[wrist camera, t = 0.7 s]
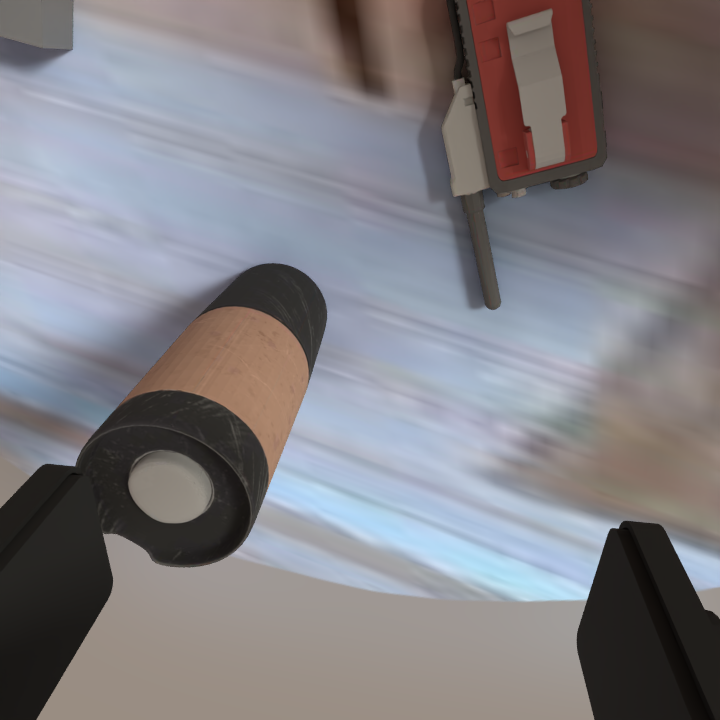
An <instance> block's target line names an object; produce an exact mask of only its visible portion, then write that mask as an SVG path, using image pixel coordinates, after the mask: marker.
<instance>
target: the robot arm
mask: <svg viewBox="0 0 720 720" xmlns="http://www.w3.org/2000/svg"><path fill="white" fill-rule="evenodd" d="M112 586H113V576H112V572H111V568H110V563H109V559H108V555H107V550H106V546H105V542H104V537H103V533H102V529H101V524H100V520H99V516H98V511H97V507H96V503H95V498H94V494H93V490H92V486H91V482H90V479H89V478H88V477H87V476H84V475H83V473H82V471H81V469H80V468H79V467H74V466H64V465H54V464H45V465H42V466H41V467H40V468H39V469H38V470H37V471H36V472H35V473H34V474H33V475H32V476H31V477H30V478H29V479H28V480H27V481H26V482H25V483H24V484H23V485H22V486H21V487H20V488H19V489H18V491H17V492H16V493H15V494H14V495H13V496H12V497H11V498H10V499H9V500H8V501H7V502H6V503H5V504H4V505H3V506H2V507H1V508H0V720H36V719H37V717H38V716H39V714H40V712H41V711H42V709H43V707H44V706H45V704H46V702H47V701H48V699H49V697H50V696H51V694H52V692H53V691H54V689H55V687H56V686H57V684H58V682H59V681H60V679H61V677H62V676H63V673H64V672H65V671H66V668H67V667H68V665H69V664H70V662H71V660H72V659H73V657H74V655H75V654H76V652H77V650H78V649H79V647H80V645H81V644H82V642H83V640H84V639H85V637H86V635H87V634H88V632H89V630H90V628H91V627H92V625H93V624H94V622H95V620H96V619H97V617H98V615H99V614H100V612H101V610H102V608H103V607H104V605H105V603H106V602H107V600H108V598H109V596H110V594H111V590H112ZM577 650H578V655H579V659H580V663H581V667H582V671H583V675H584V679H585V683H586V687H587V691H588V695H589V699H590V703H591V707H592V711H593V715H594V719H595V720H720V619H719V617H718V616H717V615H715V614H714V613H713V612H712V611H708V610H705V609H704V608H703V606H702V603H701V601H700V599H699V597H698V595H697V594H696V591H695V589H694V587H693V585H692V583H691V581H690V579H689V577H688V575H687V573H686V571H685V569H684V567H683V565H682V563H681V561H680V559H679V557H678V555H677V553H676V551H675V549H674V547H673V545H672V543H671V541H670V539H669V537H668V535H667V533H666V531H665V530H664V528H663V527H662V526H661V525H659V524H654V523H643V522H633V521H623V522H622V523H621V525H620V527H619V529H616V528H611V529H610V531H609V533H608V536H607V539H606V542H605V545H604V548H603V552H602V555H601V558H600V561H599V564H598V568H597V571H596V574H595V577H594V580H593V584H592V587H591V590H590V593H589V596H588V599H587V603H586V606H585V610H584V612H583V615H582V619H581V622H580V625H579V628H578V633H577Z"/></svg>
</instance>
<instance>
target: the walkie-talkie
mask: <svg viewBox="0 0 720 720" xmlns="http://www.w3.org/2000/svg"><path fill="white" fill-rule="evenodd" d="M447 6H448V11H449V16H450V21H451V26H452V31H453V37H454V43H455V49H456V55H457V60H456V65H455V69H454V78H455V80H452V85H453V90H454V97H453V100H452V102H451V104H450V107H449V109H448V112H447V114H446V116H445V119H444V121H443V124H442V126H441V129H442V134H443V139H444V144H445V149H446V153H447V158H448V163H449V168H450V173H451V178H450V186H451V190H452V194H453V197H457V196H460V197H461V202H462V206H463V211H464V213H466V214H467V219H468V224H469V228H470V233H471V238H472V243H473V248H474V253H475V257H476V262H477V267H478V272H479V277H480V282H481V286H482V291H483V296H484V301H485V305H486V307H487V308H488V309H491V310H495V309H497V308H498V307H499V306H500V304H501V299H500V294H499V289H498V284H497V279H496V274H495V269H494V263H493V258H492V253H491V248H490V243H489V238H488V233H487V228H486V223H485V218H484V213H483V209H484V208H485V204H484V199H483V194H482V190H483V189H487V188H491V189H492V190H493V191H494V192H496V193H497V196H498V197H504V196H508V195H510V194H511V193H512V197H513V198H517V197H522V196H524V195H526V188H527V187H530V186H534V185H537V184H541V183H545V182H549V181H550V184H551V187H552V188H553V189H567V188H572V187H576V186H578V185H581V184H583V183H585V182H586V181H587V180H588V174H587V171H591V170H594V169H596V168H599V167H602V166H603V164H604V162H605V160H606V158H607V152H606V147H607V144H606V134H605V130H604V121H603V111H602V109H603V103H602V93H601V91H600V81H599V73H597V69H596V67H597V66H598V62H596V59H595V55H596V54H597V51H595V49H594V44H595V43H596V41H595V39H593V32H594V28H592V20H593V16H591V8H592V4H590V0H447ZM455 6H456V7H455ZM456 8H457V12H456ZM457 17H458V18H457ZM458 19H459V23H458ZM459 28H460V29H459ZM460 30H461V34H460ZM461 38H462V39H461ZM462 41H463V45H462ZM463 49H464V51H465V56H464V53H463ZM464 60H466V62H467V66H466V70H468V73H469V76H468V80H469V81H470V83H466V84H465V81H464V78H463V77H462V75H461V70H462V66H463V62H464Z"/></svg>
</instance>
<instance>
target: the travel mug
mask: <svg viewBox="0 0 720 720" xmlns="http://www.w3.org/2000/svg"><path fill="white" fill-rule="evenodd" d="M326 321H327V309H326V304H325V300H324V298H323V295H322V293H321V291H320V290H319V288H318V287H317V285H316V284H315V283H314V282H313V281H312V280H311V279H310V278H309V277H308V276H307V275H306V274H304V273H303V272H301V271H299V270H298V269H295V268H293V267H291V266H287V265H283V264H275V263H271V264H262V265H258V266H255V267H253V268H251V269H249V270H247V271H246V272H244V273H243V274H242V275H240V276H239V277H238V278H237V279H236V280H235V281H234V282H233V283H232V284H231V285H230V286H229V287H228V288H227V289H226V290H225V291H224V292H223V293H222V294H221V295H220V296H219V297H218V298H216V299H215V300H214V301H213V302H212V303H211V304H210V305H209V306H208V307H207V308H206V309H205V310H204V311H203V312H202V313H201V314H200V315H199V316H198V317H197V318H196V319H195V320H194V321H193V322H192V323H191V324H190V325H189V326H188V327H187V328H186V329H185V331H184V332H183V333H182V334H181V335H180V336H179V337H178V339H177V340H176V341H175V342H174V343H173V344H172V345H171V347H170V348H169V349H168V350H167V351H166V352H165V353H164V355H163V356H162V357H161V358H160V359H159V360H158V361H157V363H156V364H155V365H154V366H153V367H152V368H151V369H150V371H149V372H148V373H147V374H146V375H145V376H144V377H143V378H142V380H141V381H140V382H139V383H138V384H137V385H136V386H135V388H134V389H133V390H132V391H131V392H130V393H129V394H128V396H127V397H126V398H125V399H124V400H123V401H122V402H121V404H120V405H119V406H118V407H117V408H116V409H115V411H114V412H113V413H112V414H111V415H110V416H109V417H108V418H107V419H106V421H105V422H104V423H103V424H102V425H101V426H100V427H99V429H98V430H97V431H96V432H95V433H94V434H93V435H92V437H91V438H90V439H89V440H88V442H87V443H86V445H85V446H84V447H83V449H82V450H81V452H80V455H79V457H78V459H77V462H76V466H75V467H79V468H80V469H81V471H82V473H83V475H84V476H87V477H88V478H89V479H90V482H91V486H92V490H93V494H94V498H95V503H96V507H97V511H98V516H99V520H100V524H101V529H102V533H104V534H111V533H112V534H118V535H120V536H123V537H125V538H126V539H128V540H130V541H132V542H134V543H136V544H137V545H139V546H141V547H142V548H143V549H145V550H146V551H147V552H148V554H149V555H150V557H151V559H152V561H154V562H155V563H157V564H160V565H165V566H170V567H197V566H204V565H208V564H212V563H214V562H218V561H220V560H222V559H224V558H226V557H228V556H229V555H230V554H232V553H233V552H235V551H236V550H237V549H238V548H239V547H240V546H241V545H242V544H243V542H244V541H245V540H246V538H247V537H248V535H249V533H250V531H251V529H252V527H253V525H254V523H255V520H256V518H257V515H258V512H259V510H260V507H261V505H262V502H263V500H264V497H265V495H266V492H267V489H268V487H269V484H270V482H271V479H272V477H273V474H274V472H275V469H276V467H277V464H278V461H279V459H280V456H281V454H282V451H283V449H284V446H285V444H286V441H287V439H288V436H289V434H290V431H291V428H292V426H293V423H294V421H295V418H296V416H297V413H298V411H299V408H300V406H301V403H302V400H303V398H304V395H305V393H306V390H307V387H308V383H309V380H310V377H311V374H312V370H313V367H314V364H315V361H316V357H317V354H318V351H319V348H320V344H321V341H322V338H323V334H324V331H325V327H326Z"/></svg>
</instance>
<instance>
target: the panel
mask: <svg viewBox="0 0 720 720" xmlns="http://www.w3.org/2000/svg"><path fill="white" fill-rule="evenodd" d="M0 37H4V38H8V39H11V40H15V41H18V42H22V43H25V44H29V45H32V46H36V47H39V48H44V49H71V50H73V0H0Z"/></svg>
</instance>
